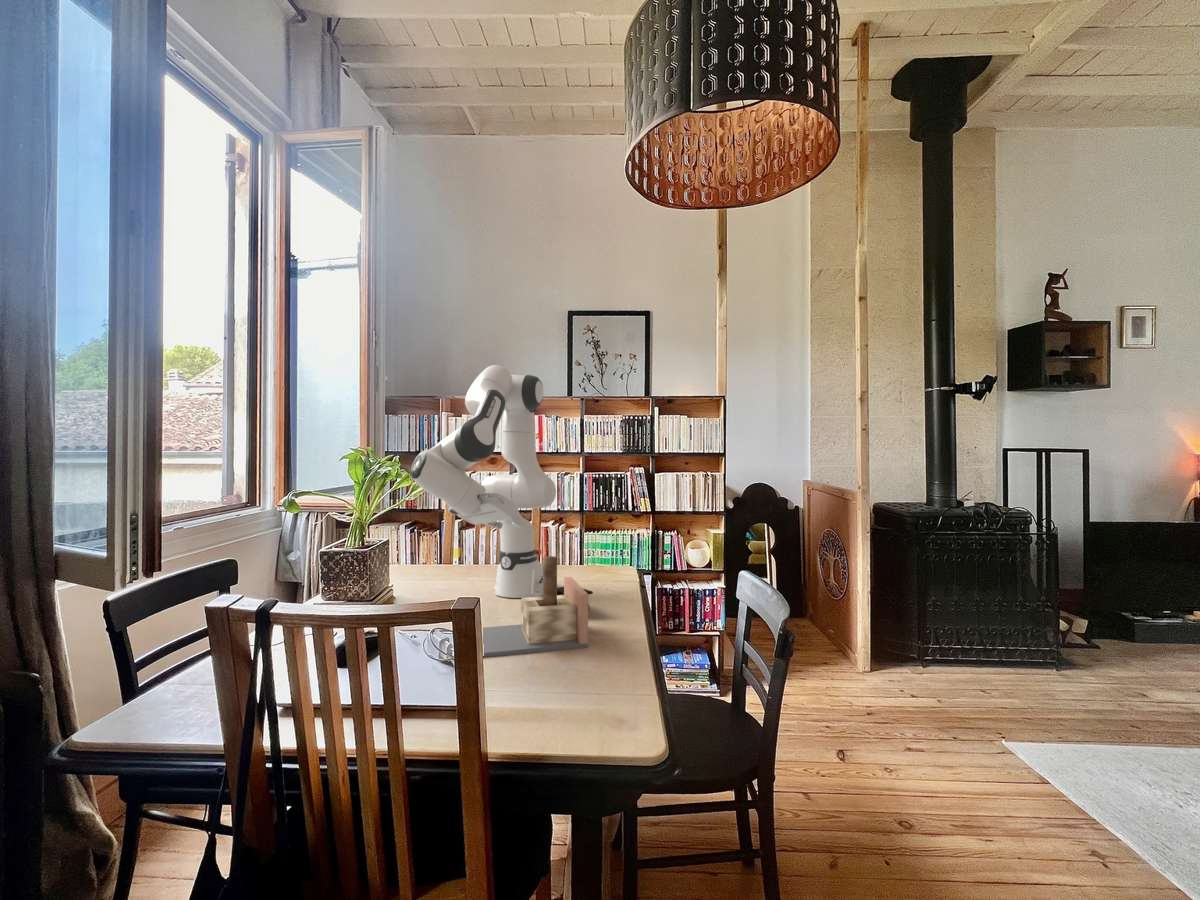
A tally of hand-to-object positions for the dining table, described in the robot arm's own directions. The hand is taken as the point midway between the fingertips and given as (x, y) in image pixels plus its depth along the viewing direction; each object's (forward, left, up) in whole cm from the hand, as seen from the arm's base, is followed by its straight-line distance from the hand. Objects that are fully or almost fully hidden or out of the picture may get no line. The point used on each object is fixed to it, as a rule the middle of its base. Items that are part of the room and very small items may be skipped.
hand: (510, 525), depth 150 cm
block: (-1, +12, -27) cm, 29 cm away
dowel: (-1, +12, -25) cm, 28 cm away
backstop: (+3, +8, -28) cm, 29 cm away
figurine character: (-23, +5, -28) cm, 37 cm away
